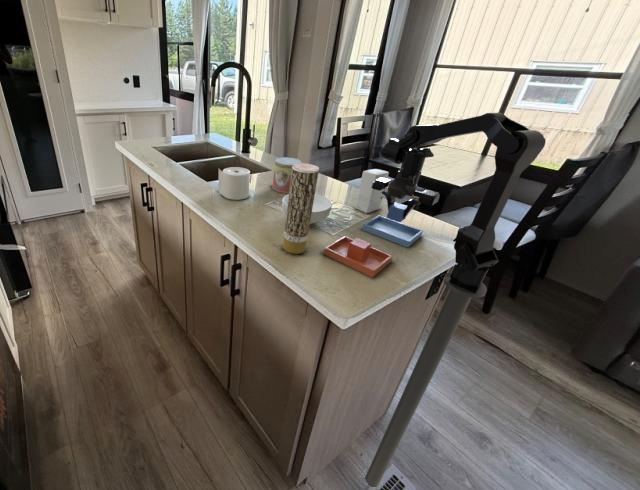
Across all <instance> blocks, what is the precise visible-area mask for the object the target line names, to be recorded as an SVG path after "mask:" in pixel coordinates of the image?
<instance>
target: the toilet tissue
mask: <svg viewBox="0 0 640 490" xmlns="http://www.w3.org/2000/svg"><path fill="white" fill-rule="evenodd" d="M217 178H218V179H217V180H218V181H217V182H218V183H217V184H218V189H217V190H218V192H219V194H220V195H222V196H223V198H226V199H228V200H234V201H237V200H238V201H239V200H245V199H247V198H249V196H250V194H249V193H250V179H251V170H249V169H248V168H246V167H241V166H232V167H231V166H230V167H225V168H224V169H223V170H221V169H220V168H218V177H217Z"/></svg>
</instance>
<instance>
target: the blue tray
mask: <svg viewBox="0 0 640 490" xmlns="http://www.w3.org/2000/svg"><path fill="white" fill-rule="evenodd" d="M361 230H362V231H364V232H367V233H370V234H372V235H375V236H378V237H380V238H383V239H385V240H387V241H390V242H393V243H395V244H397V245H400V246H403V247H406V248H409V247H410V246H411V245H413V244H414V243H415V242H416V241H417V240H418V239H420V238H421V237H422V235H423V232H424V230H423V229H419V228H416V227H414V226H410V225H408V224H405V223H402V222H397V221H394V220H391V219H388V218H387V216H386V217H385V216H383V215H380V214H378V215H375V217H372V218H371V219H370V220H368V221H366V222H365V223H363V224H362V229H361Z"/></svg>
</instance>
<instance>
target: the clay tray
mask: <svg viewBox="0 0 640 490" xmlns="http://www.w3.org/2000/svg"><path fill="white" fill-rule="evenodd" d="M353 240H354V238H351V237H349V236H347V235H343V236H341V238H338V239H337V240H335V241H333V242H332V243H330V244H329V245H327V246H325V247H324V249H323V255H325V256H327V257H328V258H331V259H333V260H335V261H336V262H337V261H338V262H339V263H341V264H343V265H345V266H348V267H349V268H352V269H353V270H355V271H358V272H360V273H362V274H364V275H367V276H368V277H371V278H374V277H375V276H377V274H379V273H380V272H381V271H382V270H383V269H384V268H386V267H387V266H388V265H389V264H390V263H391V262H392V259H393V255H392V254H389V253H387V252H385V251H382V250H380V249H377V248H375V247H373V246H371V247H370V251H369V255H368V257H367V258H366V259H364V260H363V261H362V262H359V261H357V260H355V259H353V258H350V257H348V256H347V252H348V248H349V244H350V242H352V241H353Z"/></svg>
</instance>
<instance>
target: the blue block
mask: <svg viewBox="0 0 640 490" xmlns="http://www.w3.org/2000/svg"><path fill="white" fill-rule="evenodd" d="M407 206H408V205H406V204H403V203H400V202H396V201H395V202H394V204H392V205H390V208H389V211H388V210H387V211H388V212H387V215H386V218H388V219H391V220H394V221H397V222H400V223H402V222H403V221H405V220H406V218H407V217H406V218H403V216H404V213H405V211H406V208H407Z"/></svg>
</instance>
